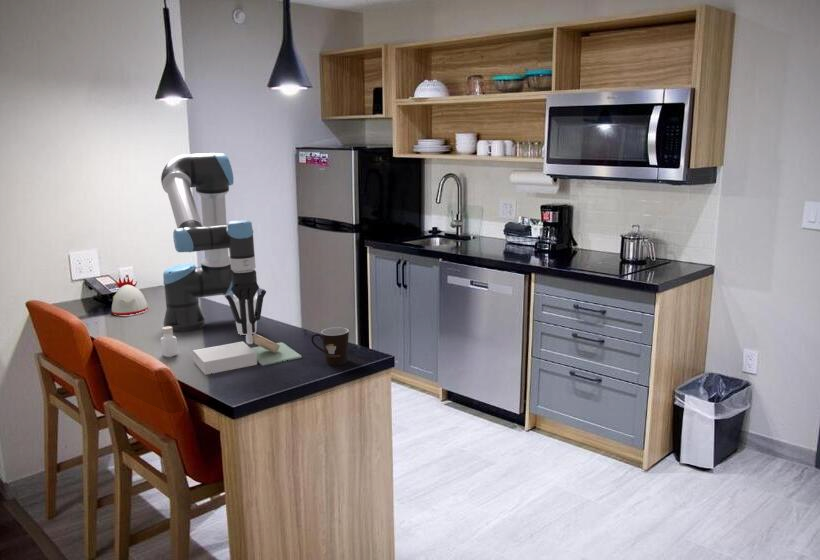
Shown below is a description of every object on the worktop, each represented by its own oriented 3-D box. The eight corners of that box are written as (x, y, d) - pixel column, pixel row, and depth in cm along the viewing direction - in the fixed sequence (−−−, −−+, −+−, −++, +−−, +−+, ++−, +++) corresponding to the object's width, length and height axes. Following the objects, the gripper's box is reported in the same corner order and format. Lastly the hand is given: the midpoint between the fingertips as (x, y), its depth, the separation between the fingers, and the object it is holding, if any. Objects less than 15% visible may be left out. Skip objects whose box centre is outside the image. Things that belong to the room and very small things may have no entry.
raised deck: (194, 362, 216) (193, 350, 215) (243, 352, 223) (242, 341, 223) (205, 374, 204) (204, 362, 203) (257, 364, 212) (256, 352, 211)
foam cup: (231, 332, 248) (228, 297, 245) (256, 328, 252) (253, 294, 249) (237, 338, 240) (234, 302, 237) (263, 334, 244) (260, 299, 241)
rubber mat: (244, 350, 226) (244, 349, 225) (282, 343, 232) (282, 342, 232) (262, 365, 210) (262, 363, 210) (301, 357, 217) (301, 355, 217)
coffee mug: (356, 361, 212) (354, 330, 210) (335, 368, 206) (333, 337, 203) (331, 354, 219) (329, 324, 217) (310, 361, 213) (308, 330, 211)
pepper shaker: (172, 352, 226) (169, 325, 224) (179, 354, 224) (176, 327, 222) (161, 355, 223) (158, 328, 221) (168, 358, 221) (164, 330, 219)
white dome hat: (114, 310, 286) (109, 275, 283) (149, 306, 290) (145, 272, 287) (110, 318, 273) (105, 281, 270) (147, 314, 277) (142, 278, 274)
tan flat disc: (247, 337, 220) (250, 331, 221) (270, 348, 225) (274, 342, 225) (256, 345, 213) (260, 338, 213) (280, 355, 218) (283, 349, 218)
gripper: (225, 275, 205) (232, 349, 210) (267, 269, 211) (273, 342, 216) (219, 271, 212) (226, 343, 216) (260, 266, 218) (265, 336, 223)
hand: (249, 342), depth 216 cm, fingers closed
